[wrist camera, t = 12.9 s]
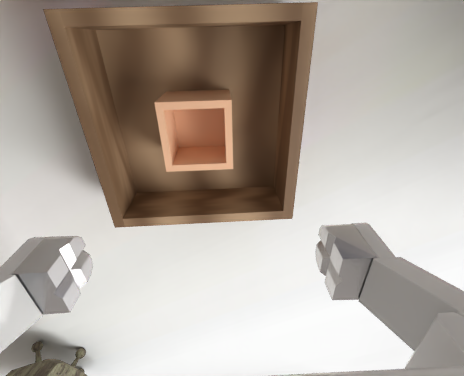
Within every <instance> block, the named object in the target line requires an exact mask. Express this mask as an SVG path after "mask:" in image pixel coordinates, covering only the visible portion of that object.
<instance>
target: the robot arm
mask: <svg viewBox="0 0 464 376" xmlns="http://www.w3.org/2000/svg"><path fill="white" fill-rule="evenodd" d="M318 235H319V237H320V239H321V241H320V242H319V243H318V244H317V245H316V261H317V265H318V268H319V270H320V272H321V273H322V274H324V275H325V276H326V278H325V285H326V287H327V289H328V292H329V294H330V296H331V299H332V300H358V299H359V302H360V303H362V304H363V305H364V306H365V307H366V308H367V309H368V310H369V311H370V312H372V313H373V314H374V315H375V316H376V317H377V318H378V319H379V320H380V321H382V322H383V323H384V324H385V325H386V326H387V327H388V328H389V329H390V330H392V331H393V332H394V333H395V334H396V335H397V336H398V337H399V338H400V339H402V340H403V341H404V342H405V343H406V344H407V345H408V346H409V347H410V348H412V349H413V350H414V353H413V354H412V356H411V358H410V359H409V361H408V362H407V364H406V367H405V369H391V370H371V371H352V372H332V373H312V374H292V375H271V376H464V291H462V290H460V289H458V288H457V287H455V286H453V285H451V284H449V283H447V282H446V281H444V280H442V279H440V278H438V277H436V276H434V275H433V274H431V273H429V272H427V271H425V270H423V269H422V268H420V267H418V266H416V265H414V264H412V263H410V262H409V261H407V260H405V259H403V258H401V257H395V256H394V254H393V253H392V252H391V251H390V249H389V248H388V247H387V246H386V244H385V243H384V242H383V241H382V240H381V238H380V237H379V236H378V235H377V233H376V232H375V231H374V230H373V228H372V227H371V226H370V225H369V224H367V223H354V224H342V225H322V226H321V227H320V230H319V234H318ZM84 247H85V243H84V241H83V239H82V237H79V236H58V237H33V238H31V239H28V240H27V241H26V242H25V243H24V244H23V245H22V246H21V247H20V248H19V249H18V250H17V251H16V252H15V253H14V254H13V255H12V256H11V257H10V258H9V259H8V260H7V261H6V262H5V263H4V264H3V265H2V266H1V267H0V353H1V352H2V351H3V350H4V349H6V348H7V347H8V346H9V345H10V344H11V343H12V342H14V341H15V340H16V339H17V338H18V337H19V336H20V335H22V334H23V333H24V332H25V331H26V330H27V329H28V328H30V327H31V326H32V325H33V324H34V323H35V322H36V321H38V320H39V319H40V318H41V317H42V316H43V315H42V314H54V313H68V312H71V310H72V308H73V307H74V305H75V303H76V301H77V300H78V298H79V296H80V294H81V293H80V289H79V288H80V287H82V286H83V285H84V284H86V283H87V282H88V280H89V278H90V276H91V273H92V268H93V264H92V259H91V256H90V254H88V253H87V252H85V251H84V250H83V249H84Z"/></svg>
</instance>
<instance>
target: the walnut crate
mask: <svg viewBox="0 0 464 376" xmlns="http://www.w3.org/2000/svg"><path fill="white" fill-rule="evenodd" d="M317 5H318V2H312V3H272V4H232V5H192V6H153V7H113V8H73V9H43V10H44V13H45V16H46V19H47V22H48V25H49V28H50V32H51V35H52V38H53V41H54V44H55V47H56V50H57V53H58V56H59V59H60V62H61V65H62V68H63V71H64V74H65V77H66V80H67V83H68V86H69V89H70V92H71V95H72V98H73V101H74V104H75V107H76V110H77V113H78V117H79V120H80V123H81V126H82V129H83V132H84V135H85V138H86V141H87V144H88V147H89V150H90V153H91V156H92V159H93V162H94V165H95V168H96V171H97V174H98V177H99V180H100V183H101V186H102V189H103V192H104V195H105V198H106V202H107V205H108V208H109V211H110V214H111V217H112V220H113V223H114V226H115V227H133V226H153V225H173V224H193V223H213V222H233V221H253V220H273V219H292V217H293V208H294V200H295V191H296V183H297V174H298V166H299V157H300V149H301V140H302V132H303V124H304V115H305V107H306V98H307V90H308V81H309V73H310V64H311V56H312V47H313V39H314V30H315V22H316V13H317ZM198 90H229V91H230V95H231V99H232V137H233V169H223V170H199V171H175V172H166V167H165V161H164V155H163V150H162V144H161V138H160V132H159V126H158V120H157V115H156V109H155V103H154V102H156V101H157V100H158V99H159V98H160V97H161V96H162V95H163V94H164V93H165V92H167V91H198Z"/></svg>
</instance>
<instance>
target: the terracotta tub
mask: <svg viewBox="0 0 464 376" xmlns="http://www.w3.org/2000/svg"><path fill="white" fill-rule="evenodd" d="M154 103H155V109H156V115H157V120H158V126H159V132H160V138H161V144H162V150H163V155H164V161H165V167H166V172H175V171H199V170H223V169H233V137H232V99H231V95H230V91H229V90H198V91H167V92H165V93H164V94H163V95H162V96H161V97H160V98H159V99H158V100H157V101H156V102H154Z"/></svg>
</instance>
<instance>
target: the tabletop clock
mask: <svg viewBox="0 0 464 376" xmlns="http://www.w3.org/2000/svg"><path fill="white" fill-rule="evenodd" d="M42 347H43V343H42V342H40V341H39V342H36V343H34V344H33V346H32V348H31V349H32V351H33V352H36V361H35V363H33V364H30V365H27V366H24V367H21V368H18V369H15V370H12V371H10V372H9V373H8V374H7V375H6V376H87V375H86V374H84V370H83V369H82V368H80V369H77V368H75V366H76V364H77V362H78V360H79V359H81V358H83V357H84V356H85V354H86V350H85V349H84V348H80V349H78V350H77V352H76V359H75V360H74V362H73V363H72V365H69V364H67V363H65V362H63V361H61V360H57V359H46V360H43V361H42V359H41V354H40V350H41V349H42Z"/></svg>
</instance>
